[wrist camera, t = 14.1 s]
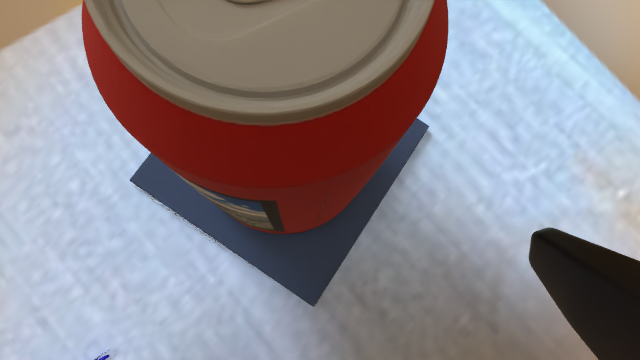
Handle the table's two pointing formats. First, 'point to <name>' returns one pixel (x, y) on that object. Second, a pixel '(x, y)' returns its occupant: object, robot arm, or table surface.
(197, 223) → the blue mat
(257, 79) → the beverage can
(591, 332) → the robot arm
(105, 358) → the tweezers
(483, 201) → the table surface
